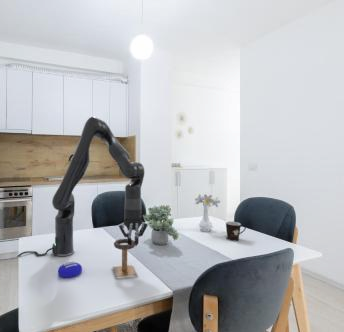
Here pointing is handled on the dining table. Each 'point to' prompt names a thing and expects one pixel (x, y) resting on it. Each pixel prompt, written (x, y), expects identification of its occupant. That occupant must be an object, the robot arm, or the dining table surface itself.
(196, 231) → the dining table surface
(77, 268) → the decorative object
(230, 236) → the coffee mug
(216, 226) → the dining table surface
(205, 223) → the flower vase
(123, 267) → the post
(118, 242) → the ring
